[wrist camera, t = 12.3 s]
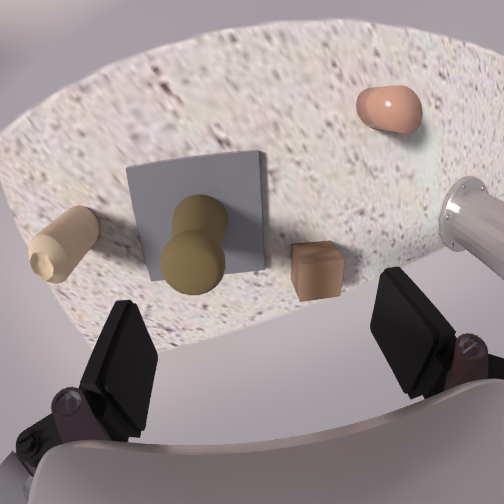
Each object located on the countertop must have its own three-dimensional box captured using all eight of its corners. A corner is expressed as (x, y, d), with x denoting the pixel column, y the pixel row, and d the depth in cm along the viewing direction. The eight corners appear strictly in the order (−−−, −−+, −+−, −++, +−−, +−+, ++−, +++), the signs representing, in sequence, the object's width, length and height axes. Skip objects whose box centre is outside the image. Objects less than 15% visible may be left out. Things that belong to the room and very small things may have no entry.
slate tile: (257, 149, 28) (258, 151, 27) (263, 265, 34) (264, 269, 34) (128, 166, 27) (125, 168, 26) (152, 276, 34) (151, 281, 33)
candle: (99, 207, 29) (59, 245, 20) (100, 249, 31) (67, 296, 22) (62, 203, 28) (17, 237, 19) (65, 243, 30) (26, 286, 21)
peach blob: (391, 90, 26) (422, 90, 20) (391, 129, 28) (422, 135, 23) (355, 85, 25) (383, 81, 20) (356, 127, 28) (384, 131, 22)
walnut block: (329, 240, 34) (345, 259, 30) (326, 274, 36) (340, 296, 32) (291, 243, 34) (301, 264, 29) (290, 278, 36) (300, 301, 32)
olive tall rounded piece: (232, 240, 31) (239, 299, 22) (180, 250, 31) (166, 312, 22) (221, 188, 28) (222, 229, 19) (166, 201, 28) (140, 247, 19)
